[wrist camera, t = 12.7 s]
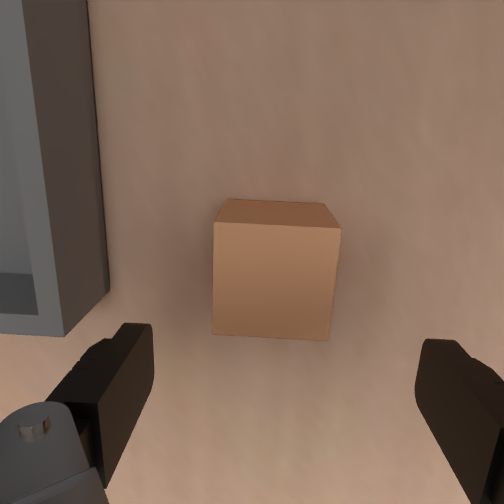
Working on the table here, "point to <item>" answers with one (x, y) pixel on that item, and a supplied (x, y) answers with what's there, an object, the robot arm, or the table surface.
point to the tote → (48, 170)
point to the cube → (274, 269)
